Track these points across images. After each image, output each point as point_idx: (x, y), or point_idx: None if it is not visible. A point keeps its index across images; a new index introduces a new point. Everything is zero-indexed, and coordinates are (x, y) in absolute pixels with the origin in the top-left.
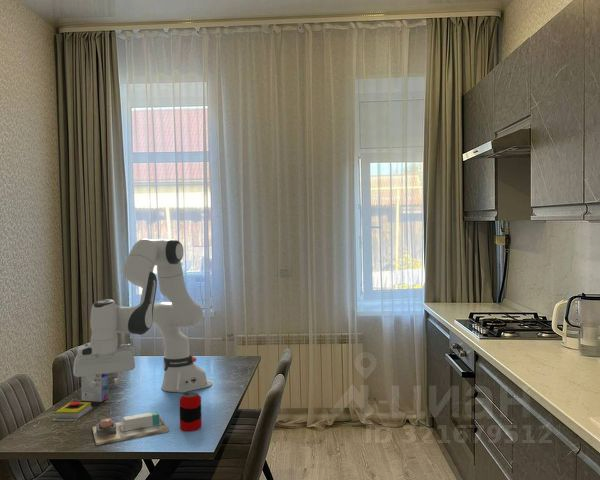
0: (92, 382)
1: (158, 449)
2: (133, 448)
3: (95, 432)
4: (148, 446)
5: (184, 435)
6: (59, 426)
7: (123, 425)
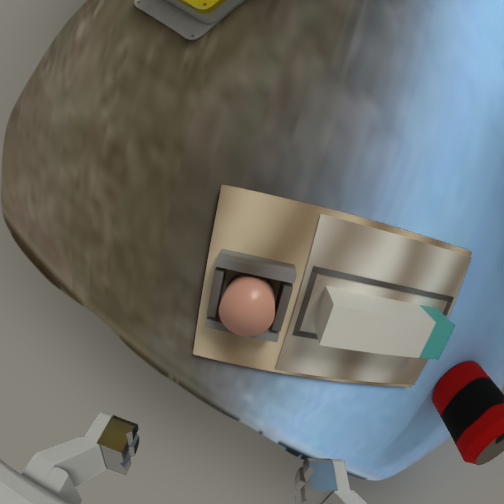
0: (101, 470)
1: (321, 451)
2: (278, 424)
3: (214, 262)
4: (313, 432)
5: (413, 417)
6: (130, 73)
7: (326, 288)
